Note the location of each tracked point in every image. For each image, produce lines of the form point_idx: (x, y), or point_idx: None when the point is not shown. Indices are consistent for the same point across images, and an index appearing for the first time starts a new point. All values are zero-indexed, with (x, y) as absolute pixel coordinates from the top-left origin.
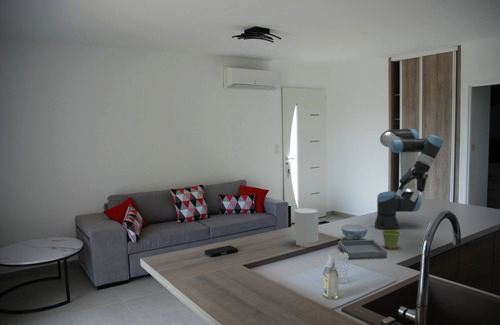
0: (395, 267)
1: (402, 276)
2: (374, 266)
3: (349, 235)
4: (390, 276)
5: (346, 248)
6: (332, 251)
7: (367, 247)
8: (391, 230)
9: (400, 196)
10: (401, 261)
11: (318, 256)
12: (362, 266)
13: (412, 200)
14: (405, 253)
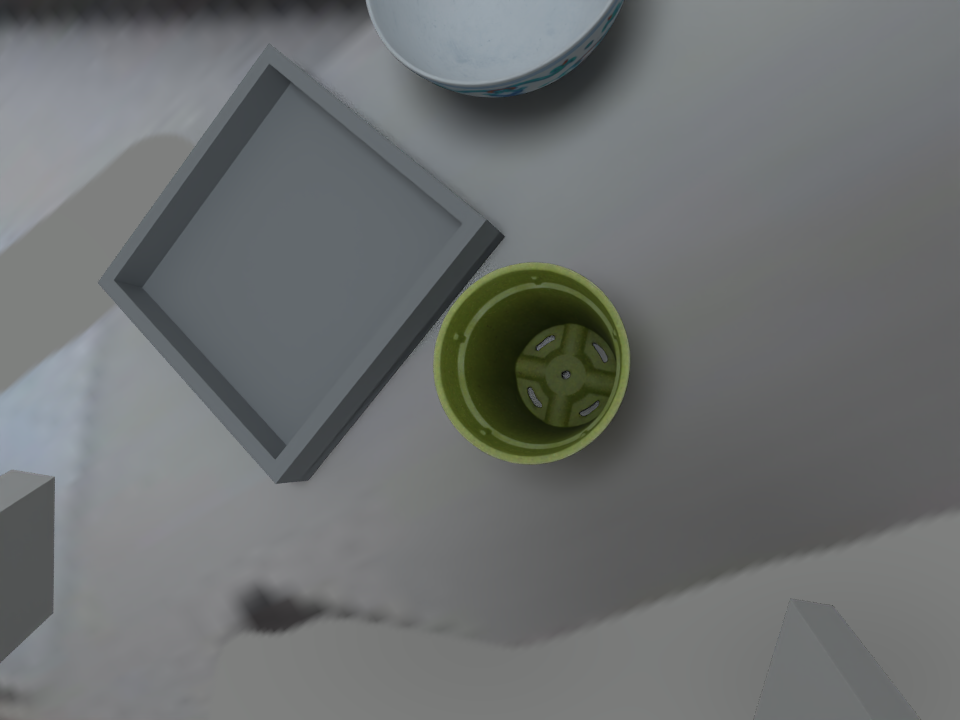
0: (184, 614)
1: (85, 711)
2: (128, 491)
3: (399, 17)
4: (51, 648)
5: (161, 211)
6: (202, 110)
7: (383, 253)
8: (613, 321)
9: (46, 617)
10: (306, 603)
11: (84, 120)
12: (90, 431)
13: (772, 685)
14: (494, 554)
